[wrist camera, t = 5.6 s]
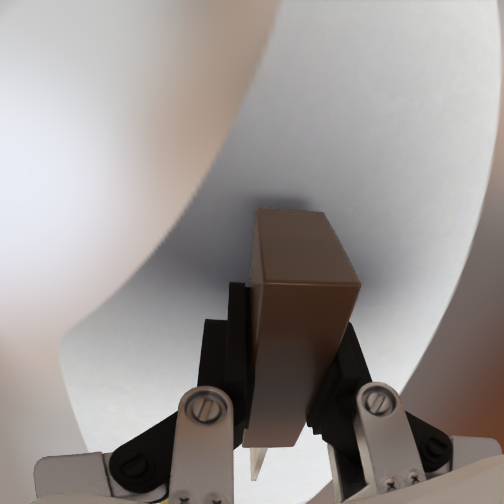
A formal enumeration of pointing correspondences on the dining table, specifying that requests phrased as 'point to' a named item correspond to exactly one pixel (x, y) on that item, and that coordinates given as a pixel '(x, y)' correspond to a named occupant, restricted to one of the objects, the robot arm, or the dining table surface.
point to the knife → (293, 321)
